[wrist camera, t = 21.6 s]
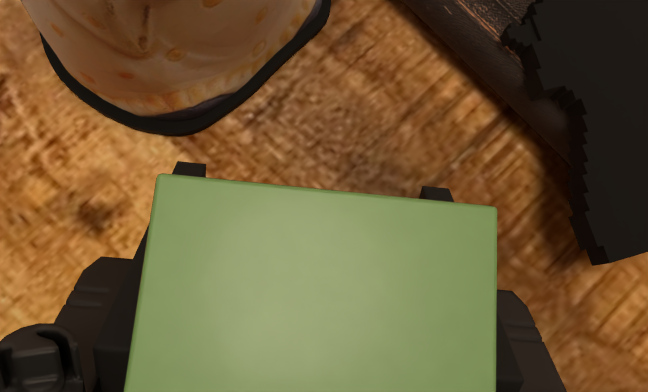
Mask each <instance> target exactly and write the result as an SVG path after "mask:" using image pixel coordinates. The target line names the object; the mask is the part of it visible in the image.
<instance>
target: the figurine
mask: <svg viewBox="0 0 648 392" xmlns="http://www.w3.org/2000/svg"><path fill="white" fill-rule="evenodd" d="M21 1H22V3H23V5H24V7H25V8H26V10H27V12H28V13H29V15H30V17H31V18H32V20H33V22H34V23H35V25H36V26H37V28H38V29H39V32H40V36H41V40H42V43H43V47H44V50H45V53H46V55H47V57H48V59H49V61H50V63H51V65H52V67H53V69H54V70H55V72H56V73H57V75H58V76H59V78H60V79H61V80H62V81H63V82H64V83H65V84H66V85H67V86H68V87H69V88H70V89H71V90H72V91H73V92H74V93H75V94H76V95H77V96H78V97H79V98H80V99H82V100H83V101H84V102H86V103H87V104H89V105H90V106H92V107H93V108H95V109H96V110H98V111H99V112H100V113H102V114H103V115H105V116H107V117H109V118H111V119H113V120H115V121H117V122H120V123H122V124H124V125H126V126H129V127H131V128H133V129H136V130H140V131H144V132H148V133H154V134H161V135H170V136H182V135H188V134H193V133H196V132H198V131H201V130H203V129H205V128H207V127H208V126H210V125H212V124H213V123H215V122H216V121H217V120H219V119H220V118H222V117H223V116H225V115H226V114H227V113H229V112H230V111H232V110H233V109H235V108H236V107H237V106H239V105H240V104H241V103H243V102H244V101H245V100H247V99H248V98H249V97H250V96H251V95H252V94H253V93H254V92H256V91H257V90H258V89H259V88H260V87H261V85H262V84H263V83H264V82H265V81H266V80H267V79H268V78H269V77H270V76H271V75H272V74H273V73H274V72H275V71H276V70H277V69H278V68H279V67H280V66H281V65H282V64H283V63H284V62H286V61H287V60H288V59H289V58H290V57H291V56H292V55H293V54H294V53H296V52H297V51H298V50H299V49H300V48H301V47H302V46H304V45H305V44H306V43H307V42H308V41H309V40H310V39H311V38H312V37H314V36H315V35H316V34H317V33H318V32H319V31H320V30H321V28H322V27H323V26H324V25H325V23H326V21H327V19H328V16H329V12H330V6H331V0H21Z"/></svg>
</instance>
